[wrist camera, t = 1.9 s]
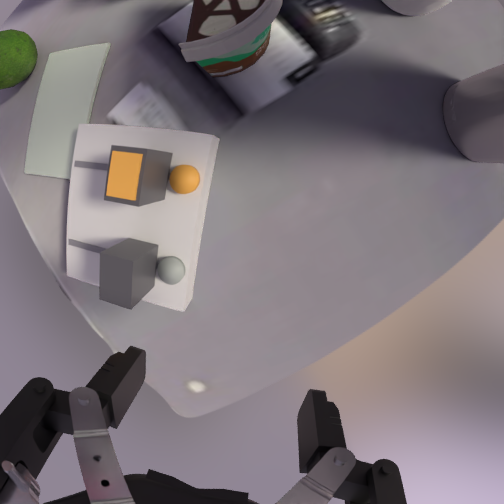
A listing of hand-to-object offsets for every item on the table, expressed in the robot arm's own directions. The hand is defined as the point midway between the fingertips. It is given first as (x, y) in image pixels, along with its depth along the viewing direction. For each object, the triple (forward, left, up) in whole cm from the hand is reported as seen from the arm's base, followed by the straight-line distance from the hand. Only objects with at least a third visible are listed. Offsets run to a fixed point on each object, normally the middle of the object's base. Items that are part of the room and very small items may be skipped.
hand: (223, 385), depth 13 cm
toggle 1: (+10, -8, -13) cm, 18 cm away
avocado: (+35, -21, -16) cm, 44 cm away
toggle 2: (+10, 0, -13) cm, 16 cm away
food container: (+5, -23, -16) cm, 29 cm away
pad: (+25, -14, -16) cm, 33 cm away
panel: (+12, -4, -16) cm, 21 cm away
